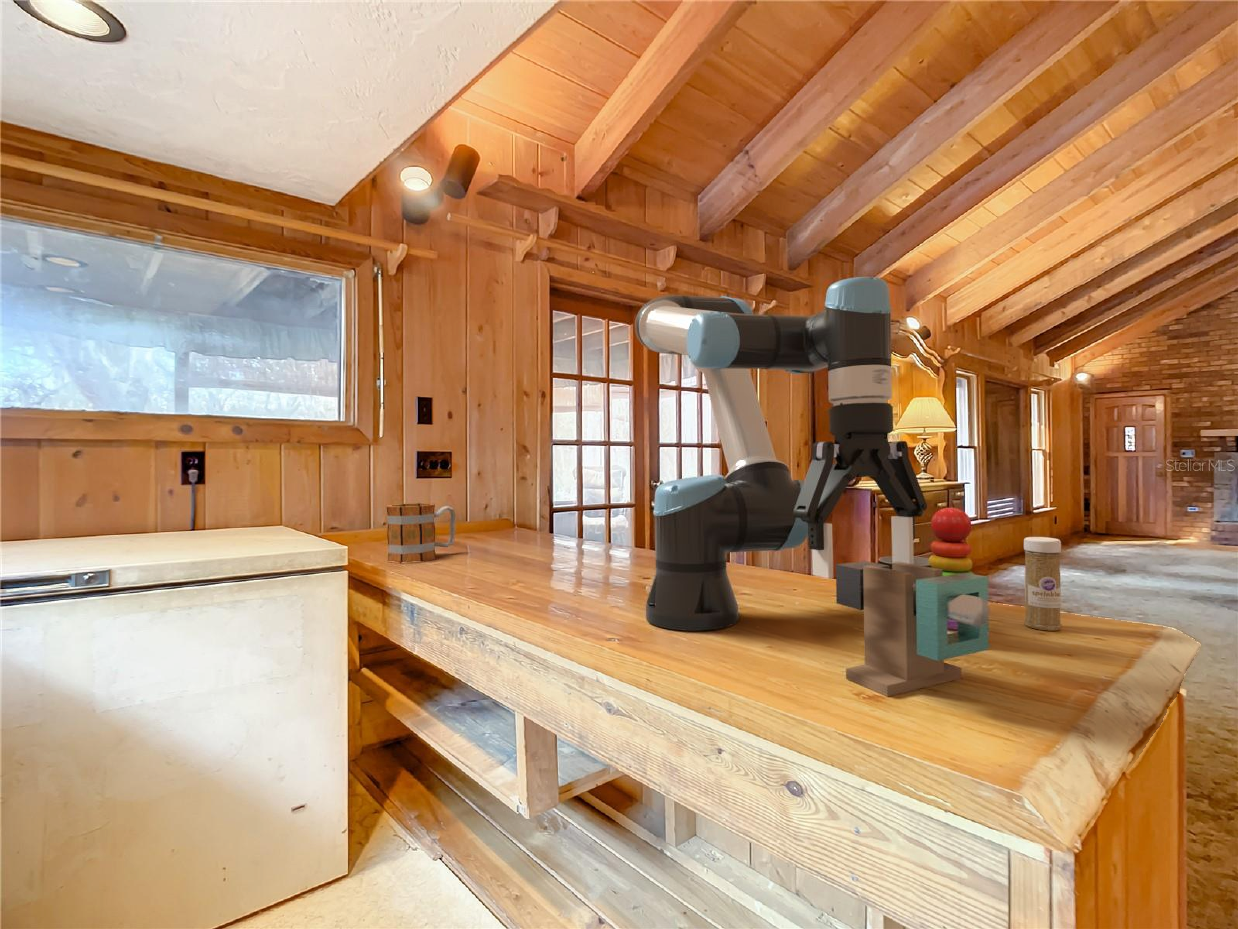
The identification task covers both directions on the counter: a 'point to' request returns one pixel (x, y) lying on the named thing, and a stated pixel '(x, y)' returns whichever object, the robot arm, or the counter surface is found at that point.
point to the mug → (415, 531)
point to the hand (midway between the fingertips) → (864, 571)
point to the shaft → (957, 606)
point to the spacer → (934, 617)
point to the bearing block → (895, 634)
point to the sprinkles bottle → (1042, 583)
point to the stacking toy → (951, 546)
